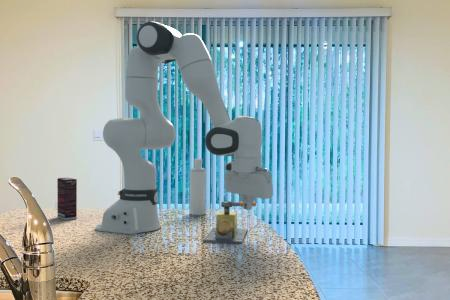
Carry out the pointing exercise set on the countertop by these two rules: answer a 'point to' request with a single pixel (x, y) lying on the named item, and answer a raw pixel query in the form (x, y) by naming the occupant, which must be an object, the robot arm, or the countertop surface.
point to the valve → (226, 229)
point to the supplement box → (67, 198)
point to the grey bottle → (198, 189)
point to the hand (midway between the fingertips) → (247, 209)
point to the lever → (233, 204)
